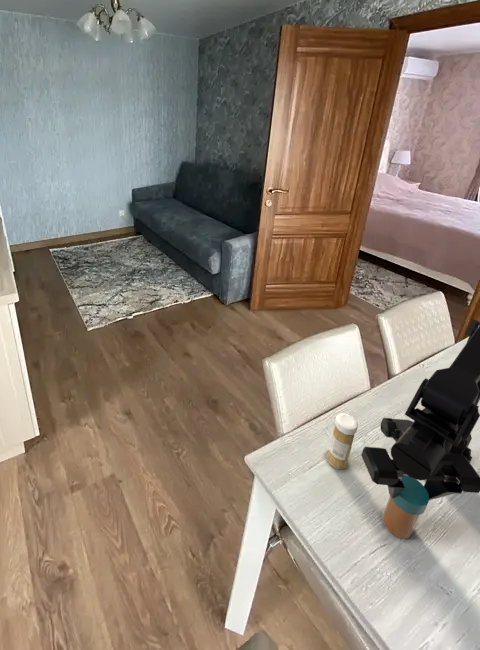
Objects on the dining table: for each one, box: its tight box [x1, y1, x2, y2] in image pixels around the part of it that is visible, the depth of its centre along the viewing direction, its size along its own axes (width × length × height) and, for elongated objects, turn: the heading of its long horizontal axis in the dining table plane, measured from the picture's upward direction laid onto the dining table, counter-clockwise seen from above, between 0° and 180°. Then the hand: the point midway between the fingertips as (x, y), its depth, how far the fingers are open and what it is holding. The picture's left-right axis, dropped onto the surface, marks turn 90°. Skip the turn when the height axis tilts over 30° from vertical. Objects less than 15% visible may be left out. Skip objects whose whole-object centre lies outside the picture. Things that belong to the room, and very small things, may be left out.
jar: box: [381, 495, 420, 540], centre depth 69 cm, size 5×5×11 cm
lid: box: [392, 475, 430, 516], centre depth 68 cm, size 6×6×3 cm
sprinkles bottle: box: [326, 412, 359, 470], centre depth 81 cm, size 5×5×13 cm
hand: (407, 497), depth 68 cm, fingers closed on lid, 6 cm apart
